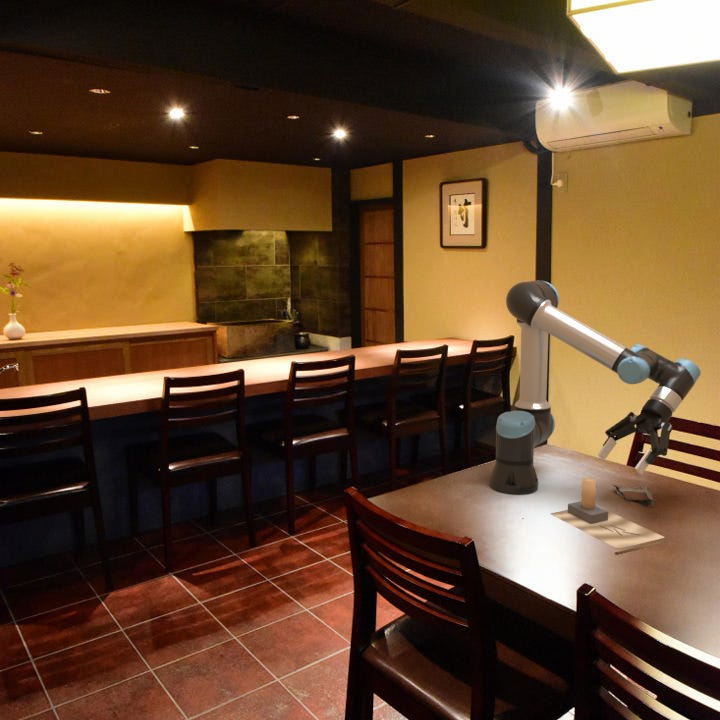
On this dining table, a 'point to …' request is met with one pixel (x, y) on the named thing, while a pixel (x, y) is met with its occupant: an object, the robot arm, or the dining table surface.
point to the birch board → (614, 531)
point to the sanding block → (588, 504)
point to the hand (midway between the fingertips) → (618, 464)
